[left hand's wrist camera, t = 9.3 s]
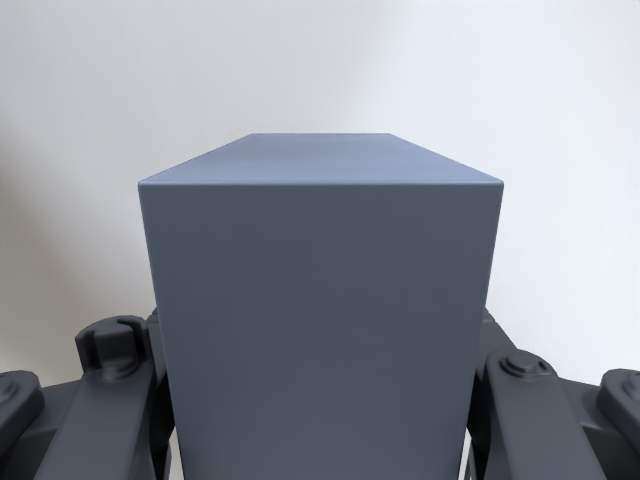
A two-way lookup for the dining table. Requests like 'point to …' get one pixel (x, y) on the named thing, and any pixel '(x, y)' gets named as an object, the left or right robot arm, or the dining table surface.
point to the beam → (321, 305)
